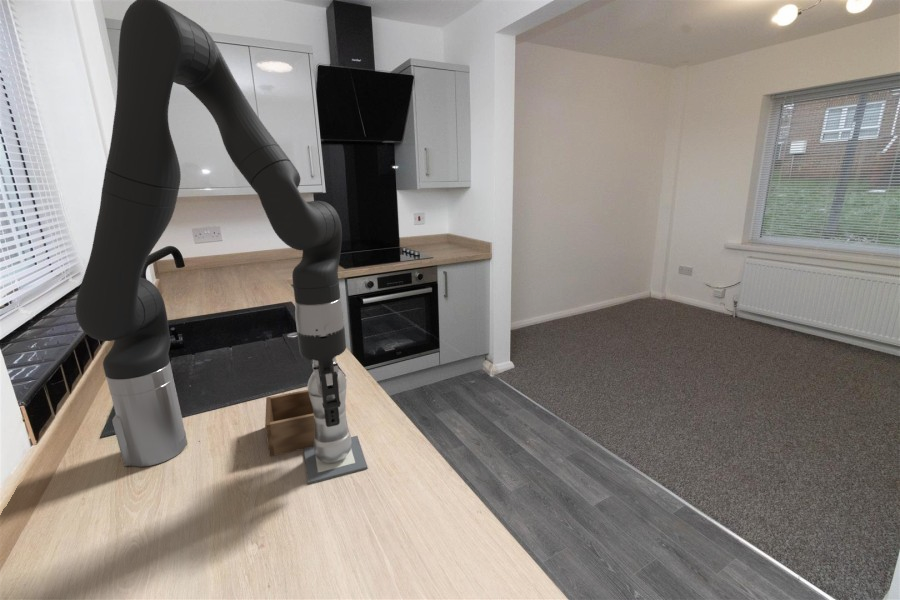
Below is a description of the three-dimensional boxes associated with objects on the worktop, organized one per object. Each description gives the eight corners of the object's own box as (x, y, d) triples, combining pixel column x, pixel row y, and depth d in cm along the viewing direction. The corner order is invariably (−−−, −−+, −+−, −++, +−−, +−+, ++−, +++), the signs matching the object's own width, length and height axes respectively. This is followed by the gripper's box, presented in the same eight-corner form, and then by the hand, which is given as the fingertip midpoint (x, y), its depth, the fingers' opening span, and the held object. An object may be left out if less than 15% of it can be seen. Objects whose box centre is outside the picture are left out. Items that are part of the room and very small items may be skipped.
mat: (307, 484, 69) (307, 481, 68) (304, 449, 78) (303, 447, 77) (367, 468, 72) (367, 466, 72) (357, 437, 81) (357, 435, 81)
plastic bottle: (308, 456, 75) (295, 355, 69) (341, 440, 79) (332, 344, 74) (326, 473, 70) (314, 367, 65) (360, 455, 75) (351, 354, 69)
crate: (269, 456, 76) (265, 425, 74) (270, 425, 86) (266, 397, 84) (331, 442, 80) (328, 412, 78) (325, 413, 90) (322, 387, 88)
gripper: (294, 316, 73) (304, 398, 77) (298, 343, 60) (310, 439, 65) (338, 310, 75) (345, 390, 80) (350, 336, 63) (358, 429, 67)
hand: (329, 412), depth 72 cm, fingers open, 8 cm apart
